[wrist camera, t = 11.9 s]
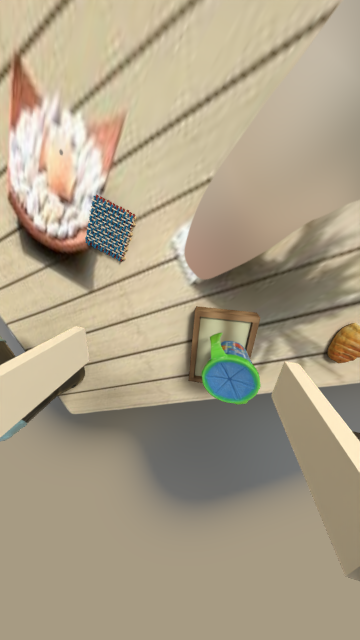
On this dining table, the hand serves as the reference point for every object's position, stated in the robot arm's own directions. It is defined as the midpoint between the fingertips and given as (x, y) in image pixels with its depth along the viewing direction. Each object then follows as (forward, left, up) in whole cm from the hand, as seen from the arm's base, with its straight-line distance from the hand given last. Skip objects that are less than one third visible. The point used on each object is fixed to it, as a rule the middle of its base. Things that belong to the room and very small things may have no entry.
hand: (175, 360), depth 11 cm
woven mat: (-22, +11, -31) cm, 39 cm away
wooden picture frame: (+6, -15, -30) cm, 34 cm away
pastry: (+34, -9, -30) cm, 47 cm away
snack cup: (+9, -15, -27) cm, 32 cm away
